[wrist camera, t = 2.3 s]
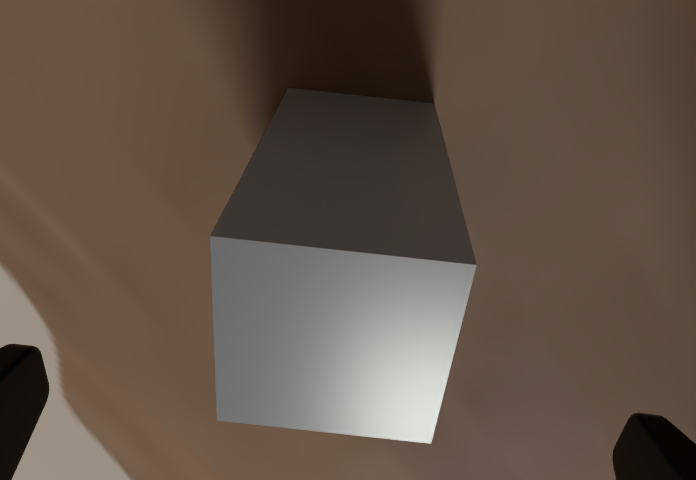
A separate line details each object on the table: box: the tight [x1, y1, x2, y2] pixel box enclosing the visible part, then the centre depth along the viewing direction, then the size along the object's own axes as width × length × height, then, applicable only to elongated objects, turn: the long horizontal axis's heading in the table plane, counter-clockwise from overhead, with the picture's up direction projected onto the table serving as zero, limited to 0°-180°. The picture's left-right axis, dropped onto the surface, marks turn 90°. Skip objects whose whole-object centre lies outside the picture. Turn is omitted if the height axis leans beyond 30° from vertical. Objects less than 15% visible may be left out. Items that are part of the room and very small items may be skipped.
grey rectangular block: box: [210, 88, 476, 444], centre depth 13 cm, size 4×4×8 cm
